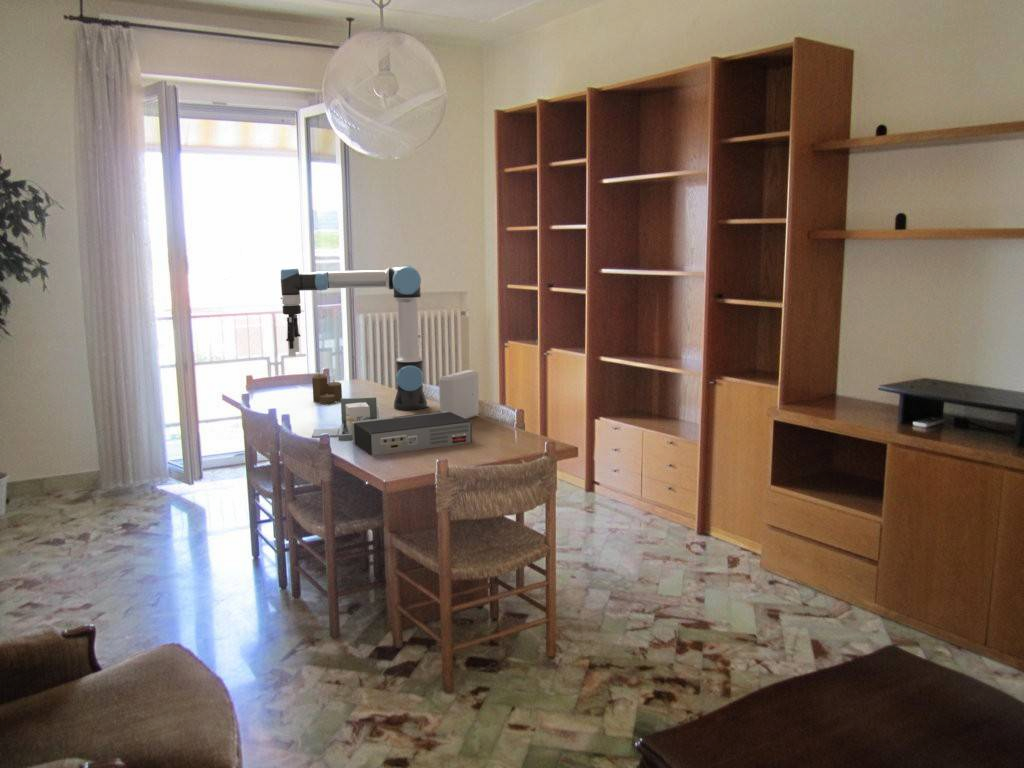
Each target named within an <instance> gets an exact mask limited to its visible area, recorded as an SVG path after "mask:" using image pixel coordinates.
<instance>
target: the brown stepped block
mask: <svg viewBox="0 0 1024 768" xmlns="http://www.w3.org/2000/svg"><path fill="white" fill-rule="evenodd" d="M311 380H312V382H311V383H312V396H313V397H312V398H313V403H319V402H320V403H319V404H320V405H326V404H328V405H333V403H334V404H335V403H336V402H335V401H337V402H341V399H342V398H343V394H342V393H343V391H342V389H343V388H342V383H341V382H340V381H335V379H333V380H332V381H330V382H328V375H326V374H325V373H321V371H320V370H318V372H317V373H316V374H315V373H314V375H313V376H312V379H311Z"/></svg>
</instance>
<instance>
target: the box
mask: <svg viewBox="0 0 1024 768" xmlns="http://www.w3.org/2000/svg"><path fill="white" fill-rule="evenodd" d="M472 430H473V429H472V421H471V420H469V419H465V418H463V417H460V416H458V415H456V414H454V413H451V412H450V411H442V412H440V411H435V412H427V413H426V412H425V413H419V414H418V413H417V414H410V415H409V414H408V415H401V416H400V415H399V416H392V417H382V418H379V419H372V420H364V421H355V422H352V435H353V440H352V444H353V445H355V446H357V447H358V448H359V449H360V450H361V451H364V453H366V454H368V455H369V456H371V457H372V456H373V457H375V456H380V455H388V454H394V453H401V452H402V453H403V452H410V451H417V450H425V449H433V448H440V447H448V446H455V445H462V444H469V443H470V444H471V443H473V442H472V441H473V439H472Z"/></svg>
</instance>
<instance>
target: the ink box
mask: <svg viewBox="0 0 1024 768" xmlns="http://www.w3.org/2000/svg"><path fill="white" fill-rule="evenodd" d="M345 406H346V427H347V428H346V434H352V422H355V421H364V420H370V407H369V406H368V404H367V403H366V402H365V403H352V404H345Z"/></svg>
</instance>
